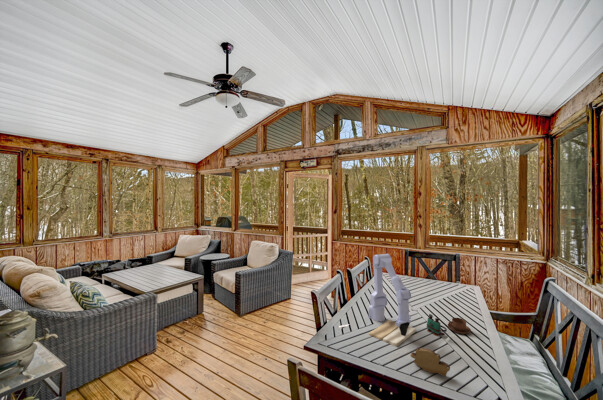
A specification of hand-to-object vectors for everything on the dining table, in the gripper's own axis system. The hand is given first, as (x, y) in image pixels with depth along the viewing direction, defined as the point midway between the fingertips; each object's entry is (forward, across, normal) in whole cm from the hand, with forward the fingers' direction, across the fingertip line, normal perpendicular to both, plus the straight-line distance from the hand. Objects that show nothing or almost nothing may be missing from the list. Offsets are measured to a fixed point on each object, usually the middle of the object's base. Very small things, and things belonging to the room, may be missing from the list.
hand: (403, 335), depth 146 cm
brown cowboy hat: (+3, +34, -18) cm, 39 cm away
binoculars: (+3, +20, -10) cm, 23 cm away
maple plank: (+2, 0, +2) cm, 3 cm away
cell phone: (+2, -15, +26) cm, 30 cm away
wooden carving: (+3, -18, -20) cm, 27 cm away
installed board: (+2, 0, +11) cm, 11 cm away
